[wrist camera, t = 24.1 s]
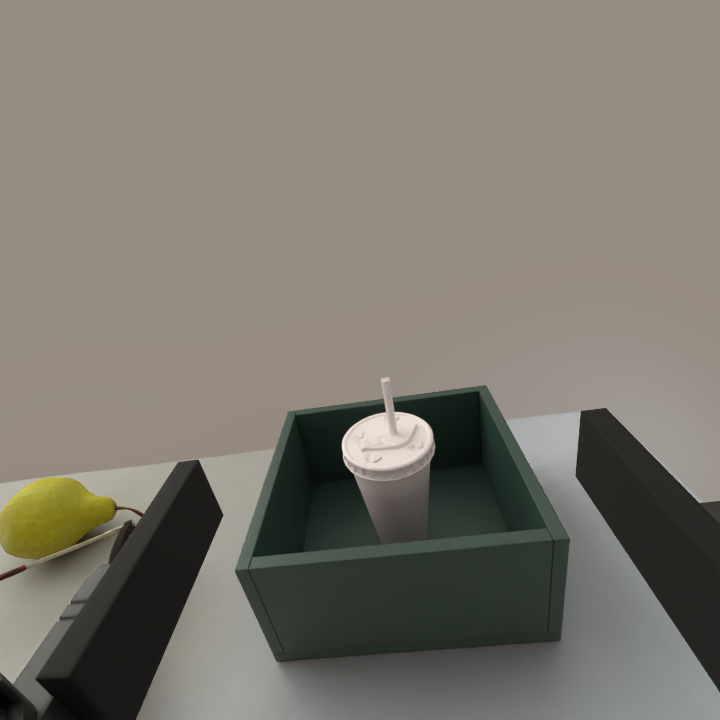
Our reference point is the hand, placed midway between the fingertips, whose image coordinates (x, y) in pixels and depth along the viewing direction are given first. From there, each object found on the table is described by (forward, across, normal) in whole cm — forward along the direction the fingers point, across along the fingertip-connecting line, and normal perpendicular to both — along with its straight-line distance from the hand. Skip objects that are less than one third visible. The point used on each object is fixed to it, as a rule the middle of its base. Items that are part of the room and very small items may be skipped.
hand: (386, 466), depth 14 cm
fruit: (+13, -36, -13) cm, 41 cm away
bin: (+11, -1, -18) cm, 21 cm away
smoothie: (+11, -1, -17) cm, 20 cm away
